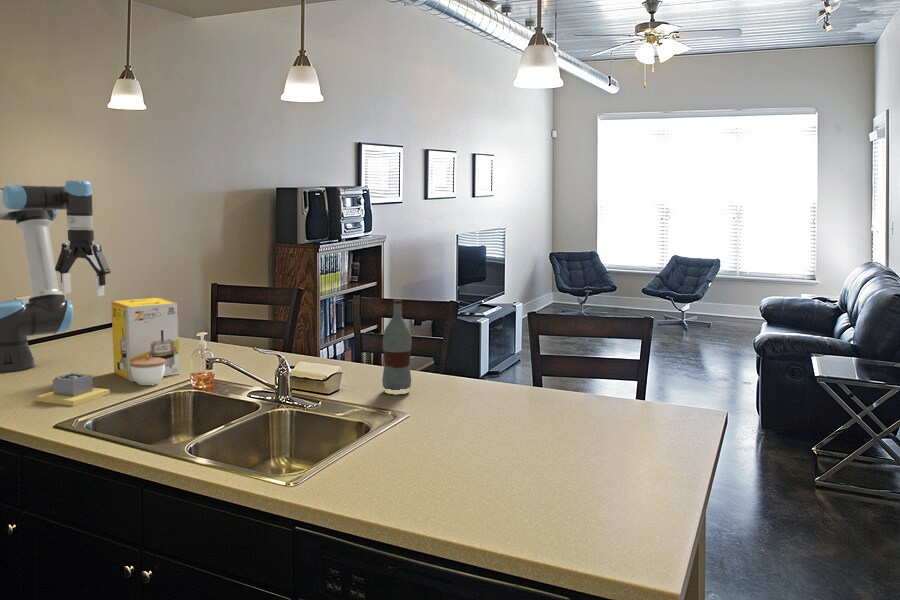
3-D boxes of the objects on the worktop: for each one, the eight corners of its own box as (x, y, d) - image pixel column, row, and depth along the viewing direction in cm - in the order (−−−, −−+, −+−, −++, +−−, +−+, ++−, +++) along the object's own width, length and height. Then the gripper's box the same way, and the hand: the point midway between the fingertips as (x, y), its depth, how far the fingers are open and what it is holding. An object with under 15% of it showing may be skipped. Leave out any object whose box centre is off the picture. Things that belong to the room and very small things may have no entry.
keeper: (36, 401, 220) (35, 379, 219) (73, 389, 233) (72, 369, 232) (73, 406, 215) (72, 384, 215) (109, 394, 229) (108, 373, 228)
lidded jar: (128, 388, 236) (127, 359, 234) (133, 380, 246) (132, 352, 245) (164, 387, 238) (163, 358, 237) (167, 379, 249) (166, 351, 247)
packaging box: (131, 381, 244) (128, 307, 241) (114, 372, 256) (111, 301, 253) (179, 374, 255) (177, 303, 252) (161, 366, 267) (158, 297, 263)
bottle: (413, 389, 242) (414, 298, 238) (408, 396, 233) (410, 302, 229) (385, 387, 243) (385, 297, 239) (379, 395, 234) (380, 301, 230)
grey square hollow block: (53, 394, 222) (52, 378, 221) (73, 388, 229) (72, 372, 228) (73, 397, 219) (72, 380, 219) (92, 391, 226) (92, 375, 226)
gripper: (40, 228, 238) (44, 293, 241) (103, 230, 231) (106, 298, 233) (59, 227, 245) (62, 290, 248) (120, 229, 238) (123, 295, 241)
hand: (83, 294), depth 241 cm, fingers open, 13 cm apart
